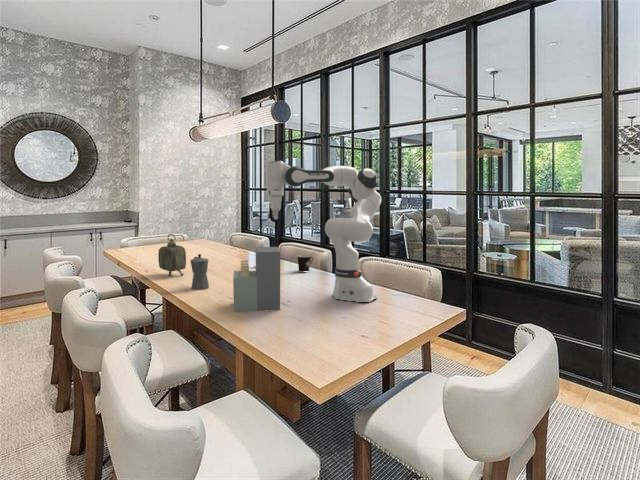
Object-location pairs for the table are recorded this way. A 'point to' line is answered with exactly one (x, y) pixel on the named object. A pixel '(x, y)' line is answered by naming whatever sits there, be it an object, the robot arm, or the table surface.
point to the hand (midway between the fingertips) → (275, 218)
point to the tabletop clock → (172, 257)
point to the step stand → (259, 283)
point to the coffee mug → (304, 262)
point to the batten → (244, 268)
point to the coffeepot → (199, 273)
